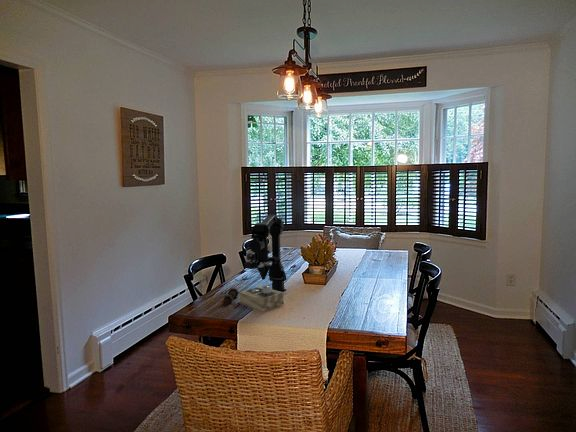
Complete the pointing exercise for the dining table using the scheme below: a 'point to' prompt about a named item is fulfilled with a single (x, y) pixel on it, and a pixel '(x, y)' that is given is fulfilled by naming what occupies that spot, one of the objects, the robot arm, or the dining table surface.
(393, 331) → the dining table surface
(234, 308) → the dining table surface
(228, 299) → the bolt
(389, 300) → the dining table surface
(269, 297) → the jig block
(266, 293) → the peg
